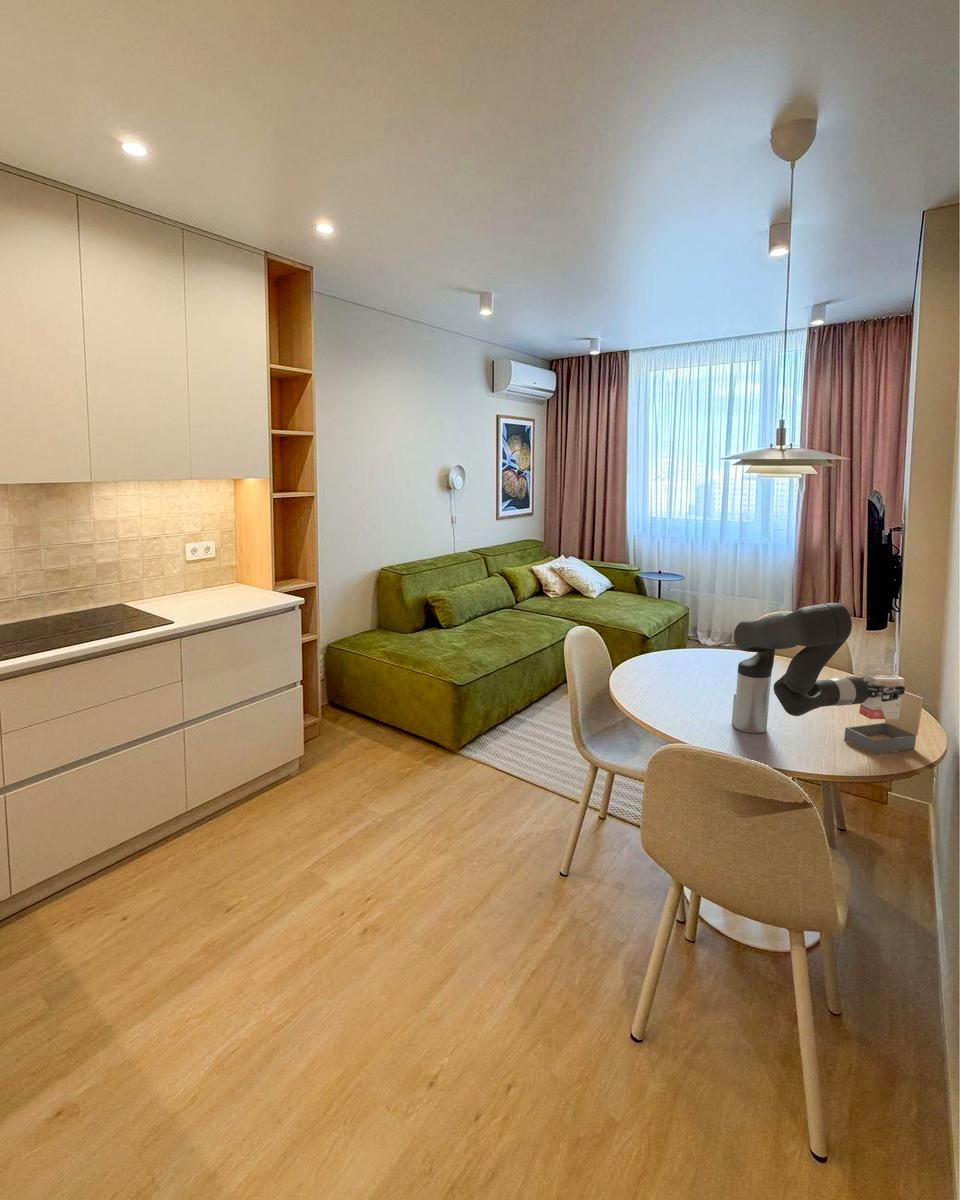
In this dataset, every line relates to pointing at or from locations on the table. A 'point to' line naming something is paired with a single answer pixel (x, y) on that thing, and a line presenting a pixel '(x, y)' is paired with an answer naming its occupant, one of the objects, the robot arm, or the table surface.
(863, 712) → the ink cartridge box
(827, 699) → the robot arm
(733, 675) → the table surface
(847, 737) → the mailer box
